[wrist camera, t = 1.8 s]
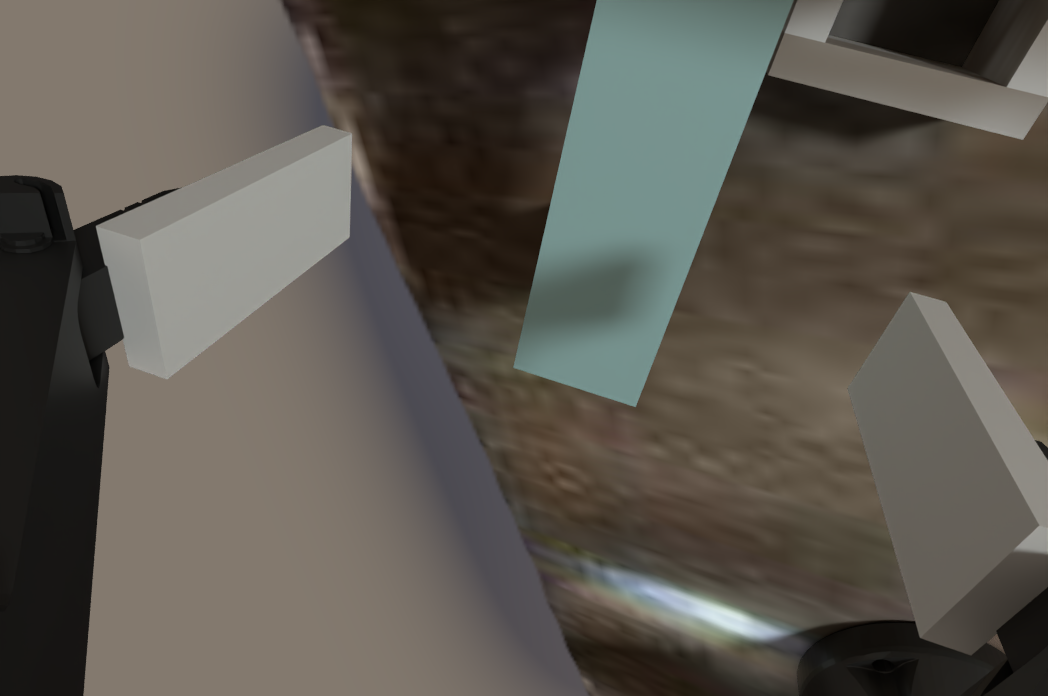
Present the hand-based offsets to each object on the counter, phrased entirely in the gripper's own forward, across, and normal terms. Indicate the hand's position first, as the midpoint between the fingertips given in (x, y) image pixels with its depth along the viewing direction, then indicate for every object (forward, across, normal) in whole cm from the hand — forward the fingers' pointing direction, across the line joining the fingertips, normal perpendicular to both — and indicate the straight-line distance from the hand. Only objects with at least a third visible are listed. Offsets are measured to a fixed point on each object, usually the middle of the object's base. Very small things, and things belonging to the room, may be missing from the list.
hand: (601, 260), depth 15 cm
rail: (+19, 0, 0) cm, 19 cm away
